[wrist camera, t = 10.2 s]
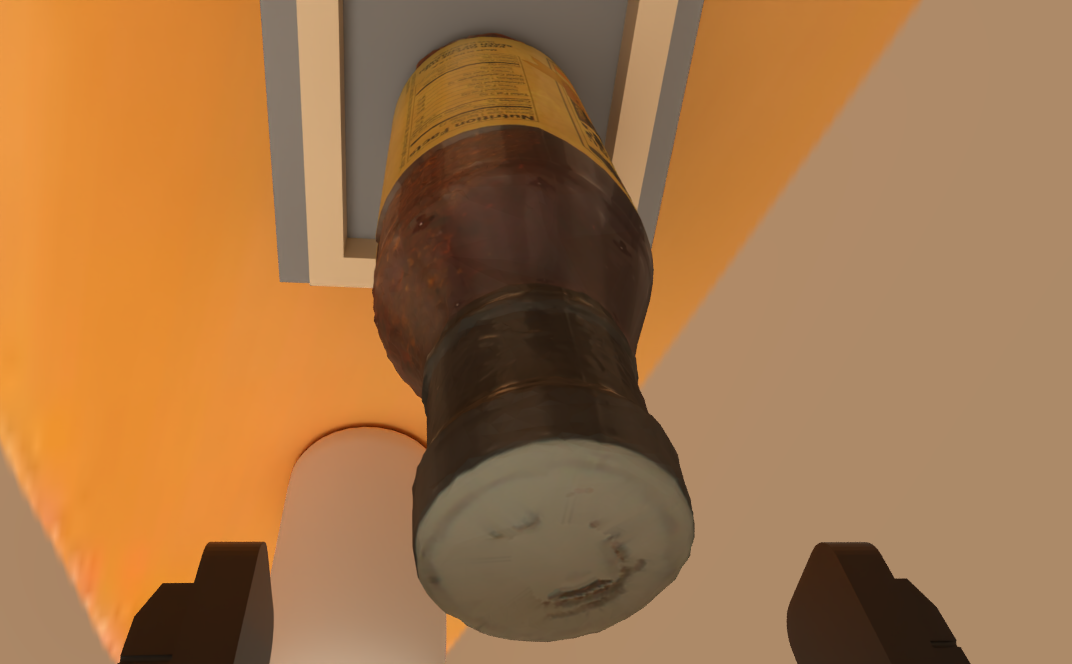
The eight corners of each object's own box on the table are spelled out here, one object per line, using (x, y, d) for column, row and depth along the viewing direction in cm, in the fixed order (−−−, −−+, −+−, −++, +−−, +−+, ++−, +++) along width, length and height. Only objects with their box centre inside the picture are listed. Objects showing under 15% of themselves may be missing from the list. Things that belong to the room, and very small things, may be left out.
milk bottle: (269, 437, 40) (158, 899, 24) (424, 408, 40) (421, 849, 24) (317, 542, 45) (251, 993, 28) (457, 515, 45) (473, 951, 28)
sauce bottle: (562, 206, 30) (711, 711, 14) (390, 193, 29) (332, 719, 13) (591, 22, 27) (838, 411, 10) (397, 0, 26) (330, 391, 9)
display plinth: (689, -108, 29) (738, -85, 24) (621, 248, 36) (649, 316, 32) (271, -157, 26) (239, -142, 22) (294, 232, 34) (273, 303, 30)
